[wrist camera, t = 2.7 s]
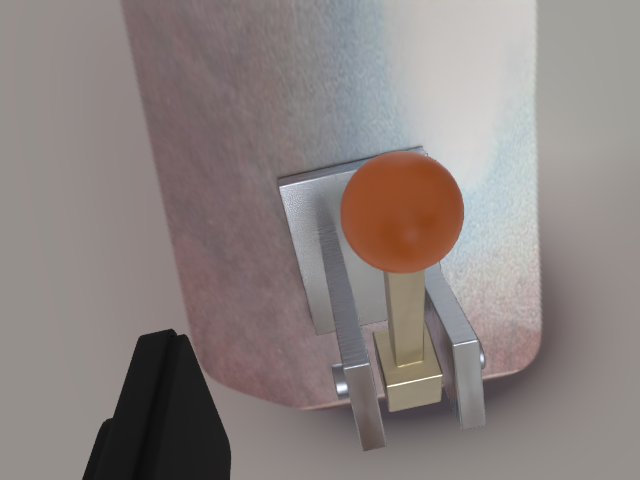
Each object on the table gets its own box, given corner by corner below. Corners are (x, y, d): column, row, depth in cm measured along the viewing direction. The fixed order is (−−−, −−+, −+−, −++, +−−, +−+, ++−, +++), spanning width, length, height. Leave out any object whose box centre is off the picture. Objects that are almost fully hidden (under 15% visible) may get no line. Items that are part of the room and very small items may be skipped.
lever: (322, 140, 14) (346, 237, 12) (444, 112, 14) (488, 206, 12) (363, 354, 25) (379, 424, 23) (433, 339, 24) (456, 408, 23)
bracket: (277, 178, 30) (284, 315, 19) (422, 146, 30) (518, 264, 18) (314, 324, 35) (338, 505, 23) (440, 297, 34) (525, 465, 23)
